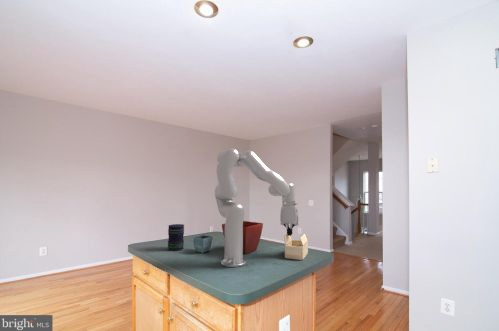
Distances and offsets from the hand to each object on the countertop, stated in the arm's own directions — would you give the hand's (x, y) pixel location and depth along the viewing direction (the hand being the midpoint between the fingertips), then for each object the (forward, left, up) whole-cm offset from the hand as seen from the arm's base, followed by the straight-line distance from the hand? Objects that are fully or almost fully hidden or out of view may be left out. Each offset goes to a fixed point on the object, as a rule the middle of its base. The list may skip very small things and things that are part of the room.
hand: (289, 235), depth 144 cm
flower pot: (-15, +51, -11) cm, 54 cm away
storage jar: (-17, +70, -11) cm, 73 cm away
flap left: (0, +1, -2) cm, 2 cm away
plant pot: (-4, +29, -11) cm, 31 cm away
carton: (0, -4, -11) cm, 12 cm away
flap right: (0, -8, -2) cm, 8 cm away
